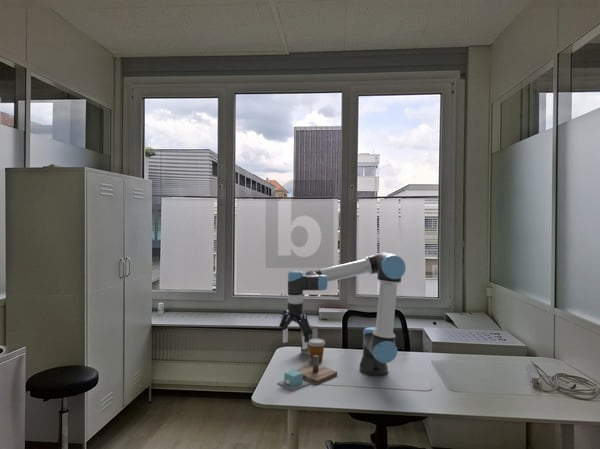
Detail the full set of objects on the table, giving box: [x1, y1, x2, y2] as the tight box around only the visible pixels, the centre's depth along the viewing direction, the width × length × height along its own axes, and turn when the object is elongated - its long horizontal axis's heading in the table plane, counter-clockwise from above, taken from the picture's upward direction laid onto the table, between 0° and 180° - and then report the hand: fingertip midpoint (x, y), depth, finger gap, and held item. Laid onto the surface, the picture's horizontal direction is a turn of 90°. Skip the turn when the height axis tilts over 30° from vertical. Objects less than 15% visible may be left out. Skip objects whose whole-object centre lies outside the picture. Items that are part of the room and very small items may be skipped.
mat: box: [277, 379, 310, 392], centre depth 194 cm, size 11×11×1 cm
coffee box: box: [300, 324, 320, 356], centre depth 238 cm, size 9×6×16 cm
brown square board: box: [296, 355, 338, 385], centre depth 205 cm, size 16×16×10 cm
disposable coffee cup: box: [309, 338, 326, 364], centre depth 225 cm, size 10×10×12 cm
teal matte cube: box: [283, 368, 304, 387], centre depth 194 cm, size 6×7×5 cm
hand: (294, 345), depth 194 cm, fingers open, 13 cm apart
